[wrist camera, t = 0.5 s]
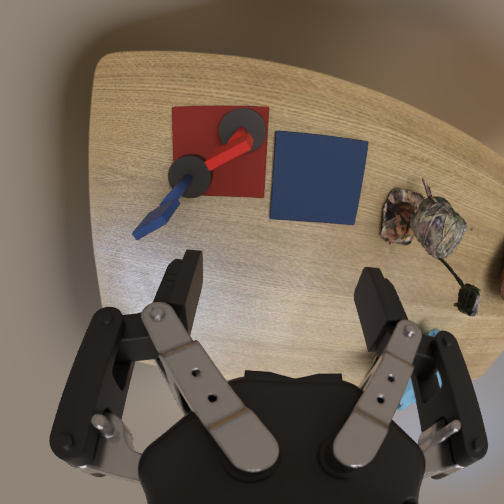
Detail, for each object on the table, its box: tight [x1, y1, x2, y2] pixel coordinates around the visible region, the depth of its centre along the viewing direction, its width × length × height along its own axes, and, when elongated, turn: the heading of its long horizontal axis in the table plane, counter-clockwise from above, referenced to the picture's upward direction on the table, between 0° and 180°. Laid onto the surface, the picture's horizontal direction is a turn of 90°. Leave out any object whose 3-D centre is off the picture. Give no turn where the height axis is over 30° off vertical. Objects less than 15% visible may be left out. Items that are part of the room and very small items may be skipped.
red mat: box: [172, 106, 269, 198], centre depth 35 cm, size 12×12×1 cm
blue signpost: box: [132, 154, 213, 240], centre depth 29 cm, size 6×6×16 cm
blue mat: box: [270, 131, 368, 225], centre depth 36 cm, size 12×12×1 cm
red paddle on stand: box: [205, 108, 266, 171], centre depth 26 cm, size 6×6×16 cm
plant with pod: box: [380, 178, 482, 316], centre depth 29 cm, size 8×11×20 cm
